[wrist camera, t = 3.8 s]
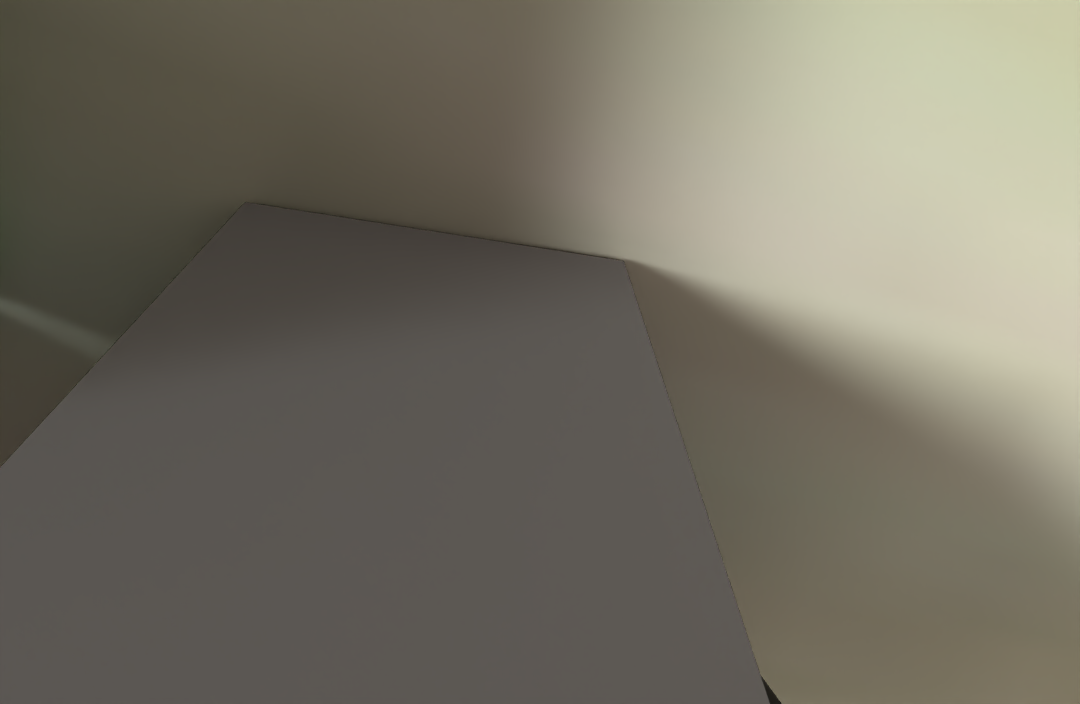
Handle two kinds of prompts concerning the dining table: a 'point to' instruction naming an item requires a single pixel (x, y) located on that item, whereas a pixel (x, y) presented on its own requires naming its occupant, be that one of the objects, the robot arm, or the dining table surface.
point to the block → (368, 490)
